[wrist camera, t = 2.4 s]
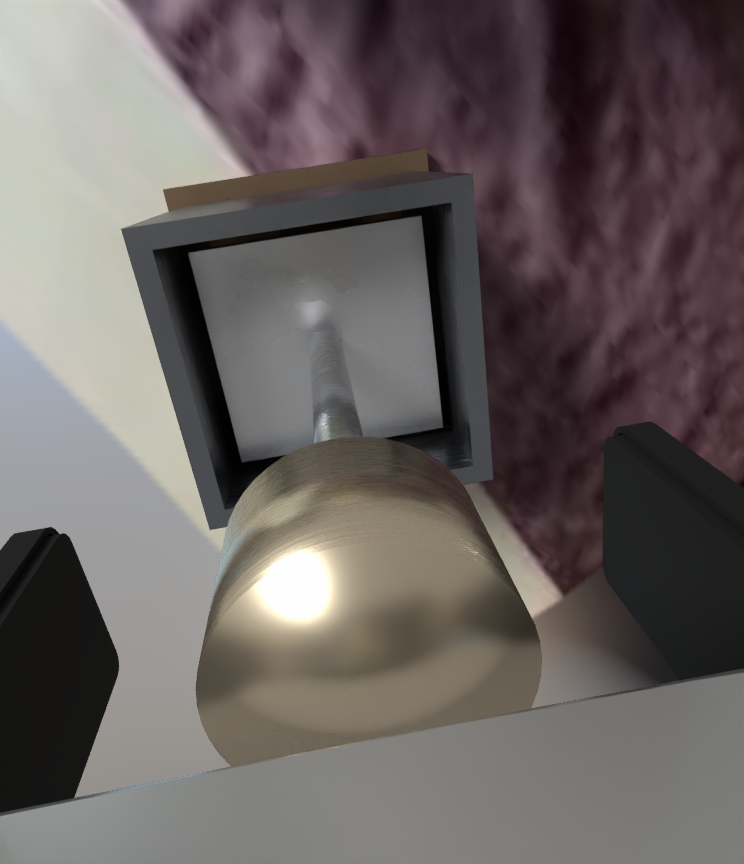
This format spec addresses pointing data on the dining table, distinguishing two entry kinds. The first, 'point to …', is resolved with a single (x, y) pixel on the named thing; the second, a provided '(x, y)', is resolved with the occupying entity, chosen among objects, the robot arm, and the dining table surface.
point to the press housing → (295, 213)
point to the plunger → (345, 509)
